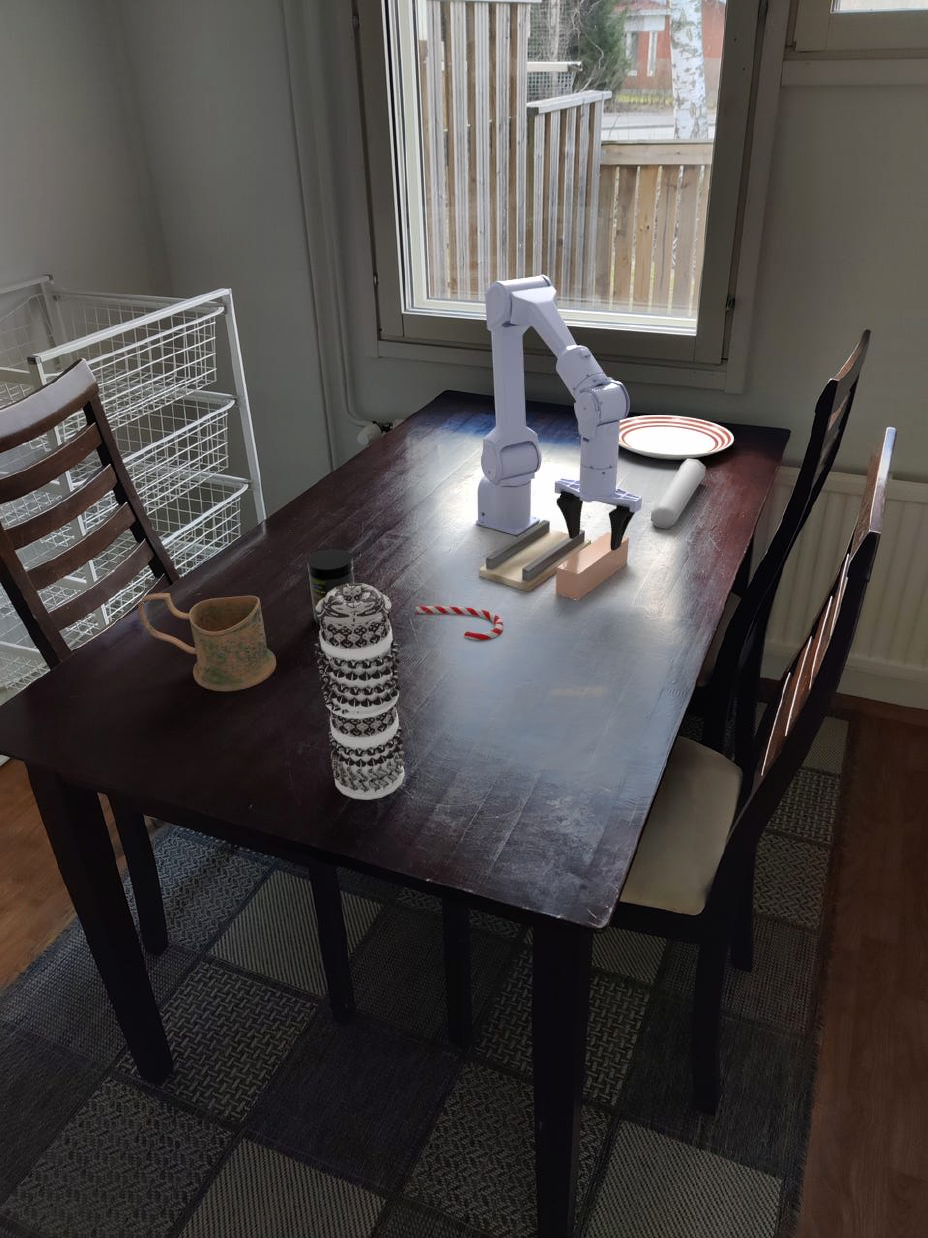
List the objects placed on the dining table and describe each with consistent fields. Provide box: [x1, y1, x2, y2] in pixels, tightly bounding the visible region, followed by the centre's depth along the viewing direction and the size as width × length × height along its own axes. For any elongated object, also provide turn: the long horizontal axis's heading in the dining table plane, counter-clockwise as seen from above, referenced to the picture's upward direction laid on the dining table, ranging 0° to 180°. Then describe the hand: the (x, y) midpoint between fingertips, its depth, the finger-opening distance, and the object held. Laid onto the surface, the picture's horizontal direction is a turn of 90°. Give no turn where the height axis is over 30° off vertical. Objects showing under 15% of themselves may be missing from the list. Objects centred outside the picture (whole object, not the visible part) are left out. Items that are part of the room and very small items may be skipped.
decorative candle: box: [314, 582, 406, 801], centre depth 104 cm, size 9×9×25 cm
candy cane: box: [414, 605, 504, 641], centre depth 141 cm, size 8×1×15 cm
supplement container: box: [306, 548, 355, 626], centre depth 140 cm, size 7×7×10 cm
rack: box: [478, 519, 592, 592], centre depth 157 cm, size 10×20×3 cm, turn 143°
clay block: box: [555, 531, 630, 601], centre depth 151 cm, size 4×16×5 cm, turn 142°
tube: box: [650, 458, 707, 529], centre depth 176 cm, size 5×5×25 cm
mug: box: [138, 592, 277, 692], centre depth 128 cm, size 12×18×12 cm, turn 88°
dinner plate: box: [619, 414, 735, 461], centre depth 204 cm, size 28×27×3 cm
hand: (594, 542), depth 149 cm, fingers open, 7 cm apart
